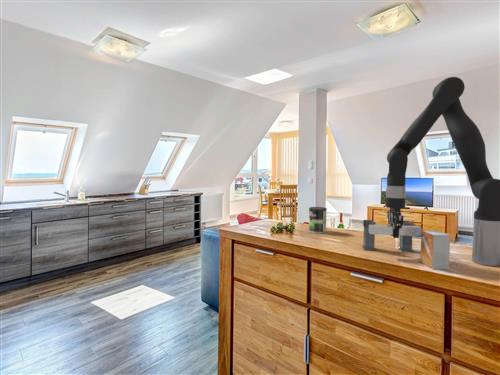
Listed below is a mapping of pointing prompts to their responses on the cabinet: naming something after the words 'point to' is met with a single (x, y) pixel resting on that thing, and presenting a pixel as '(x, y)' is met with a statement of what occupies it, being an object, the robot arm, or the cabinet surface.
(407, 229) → the rail
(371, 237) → the post far
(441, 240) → the small box
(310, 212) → the coffee can
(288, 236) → the cabinet surface
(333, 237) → the cabinet surface
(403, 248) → the post near
